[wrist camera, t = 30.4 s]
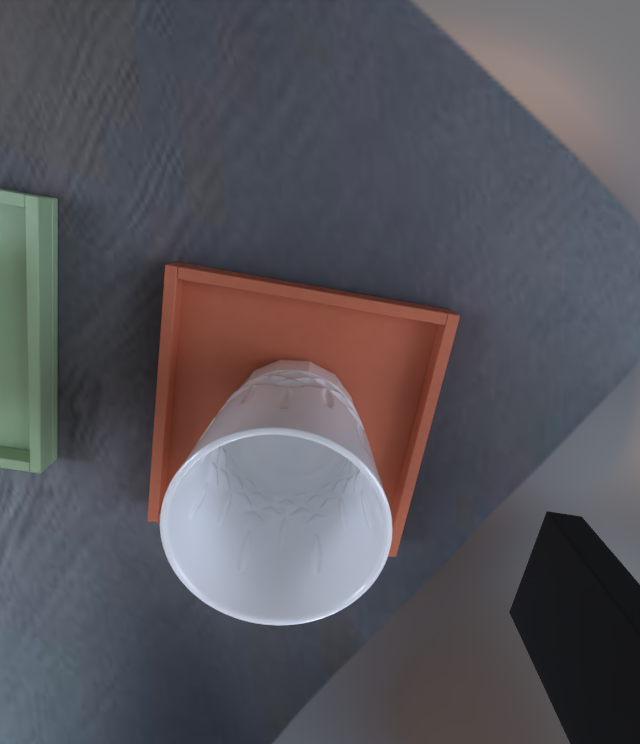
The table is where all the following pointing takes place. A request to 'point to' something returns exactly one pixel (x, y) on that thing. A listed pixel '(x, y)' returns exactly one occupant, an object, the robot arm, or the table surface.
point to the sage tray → (28, 330)
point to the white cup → (279, 502)
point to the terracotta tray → (303, 343)
